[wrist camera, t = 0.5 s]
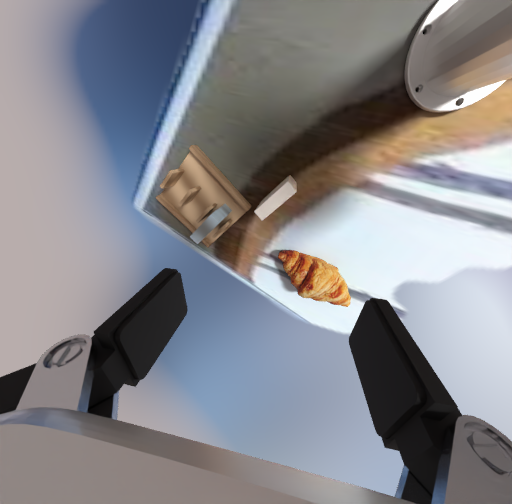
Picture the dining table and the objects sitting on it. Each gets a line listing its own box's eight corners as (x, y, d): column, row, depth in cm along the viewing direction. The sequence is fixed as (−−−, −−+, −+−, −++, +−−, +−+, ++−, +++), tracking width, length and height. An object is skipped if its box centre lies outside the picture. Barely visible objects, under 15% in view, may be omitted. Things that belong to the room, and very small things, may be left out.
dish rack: (196, 145, 33) (171, 144, 27) (251, 206, 37) (241, 218, 30) (162, 195, 40) (134, 205, 33) (211, 243, 44) (195, 260, 37)
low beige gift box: (290, 174, 33) (288, 181, 26) (296, 183, 33) (296, 191, 26) (262, 199, 36) (254, 211, 29) (268, 207, 37) (262, 220, 30)
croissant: (353, 282, 45) (377, 294, 37) (329, 314, 46) (348, 332, 38) (287, 234, 42) (299, 235, 34) (262, 268, 42) (268, 278, 34)
